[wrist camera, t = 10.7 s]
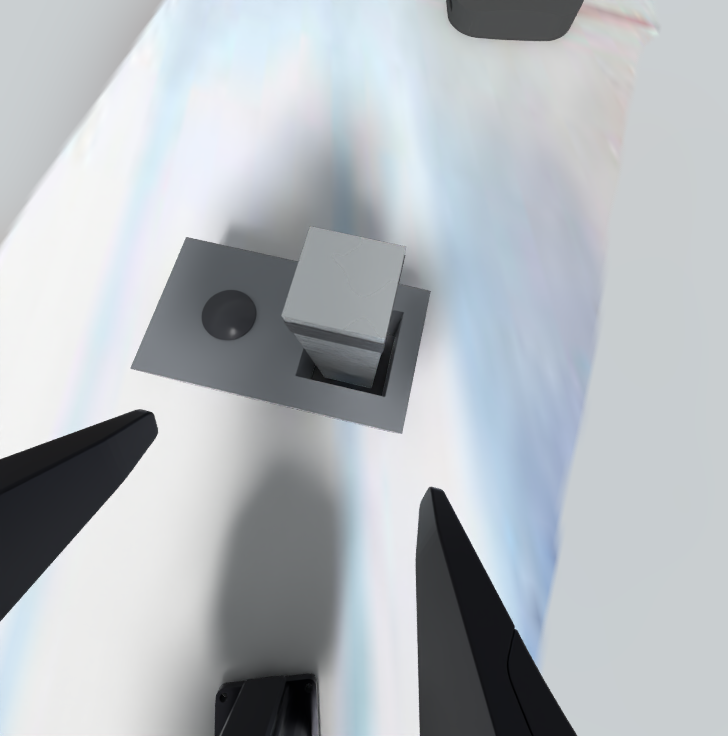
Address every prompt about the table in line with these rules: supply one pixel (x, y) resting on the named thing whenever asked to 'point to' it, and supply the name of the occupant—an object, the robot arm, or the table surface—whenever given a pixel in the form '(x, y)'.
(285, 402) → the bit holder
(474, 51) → the table surface
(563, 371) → the table surface
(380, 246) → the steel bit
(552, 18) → the media streaming box
